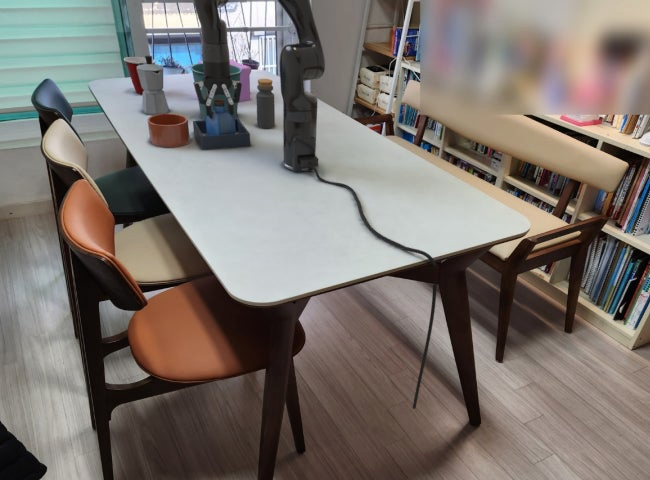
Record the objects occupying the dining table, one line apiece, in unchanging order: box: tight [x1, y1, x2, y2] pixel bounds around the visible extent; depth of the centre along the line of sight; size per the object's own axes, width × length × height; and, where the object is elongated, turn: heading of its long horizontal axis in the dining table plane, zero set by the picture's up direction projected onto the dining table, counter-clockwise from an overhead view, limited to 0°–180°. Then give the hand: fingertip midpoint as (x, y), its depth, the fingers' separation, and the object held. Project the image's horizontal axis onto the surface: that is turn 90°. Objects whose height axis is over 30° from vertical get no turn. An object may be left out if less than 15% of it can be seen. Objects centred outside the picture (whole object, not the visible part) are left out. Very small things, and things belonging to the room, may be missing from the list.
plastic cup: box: [123, 56, 157, 95], centre depth 194 cm, size 11×11×12 cm
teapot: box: [187, 58, 252, 102], centre depth 197 cm, size 15×25×14 cm, turn 131°
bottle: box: [255, 78, 276, 130], centre depth 174 cm, size 6×6×15 cm
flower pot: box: [189, 62, 242, 120], centre depth 178 cm, size 16×16×16 cm
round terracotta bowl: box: [146, 113, 191, 148], centre depth 158 cm, size 11×11×6 cm
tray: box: [192, 117, 251, 150], centre depth 163 cm, size 14×14×4 cm
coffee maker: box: [137, 55, 170, 116], centre depth 176 cm, size 15×9×18 cm, turn 42°
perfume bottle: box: [205, 99, 237, 136], centre depth 161 cm, size 6×6×12 cm
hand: (220, 116), depth 160 cm, fingers closed on perfume bottle, 5 cm apart
